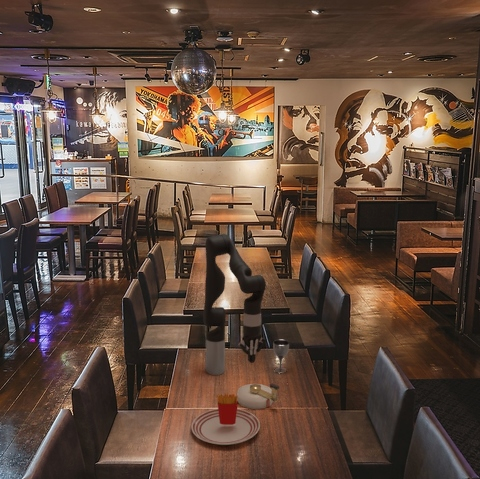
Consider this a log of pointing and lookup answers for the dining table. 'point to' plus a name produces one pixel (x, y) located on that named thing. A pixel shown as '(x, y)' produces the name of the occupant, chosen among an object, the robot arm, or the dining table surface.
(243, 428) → the dinner plate
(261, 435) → the dining table surface
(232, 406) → the french fries
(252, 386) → the crank
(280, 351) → the wine glass
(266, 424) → the dining table surface
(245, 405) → the crank housing
